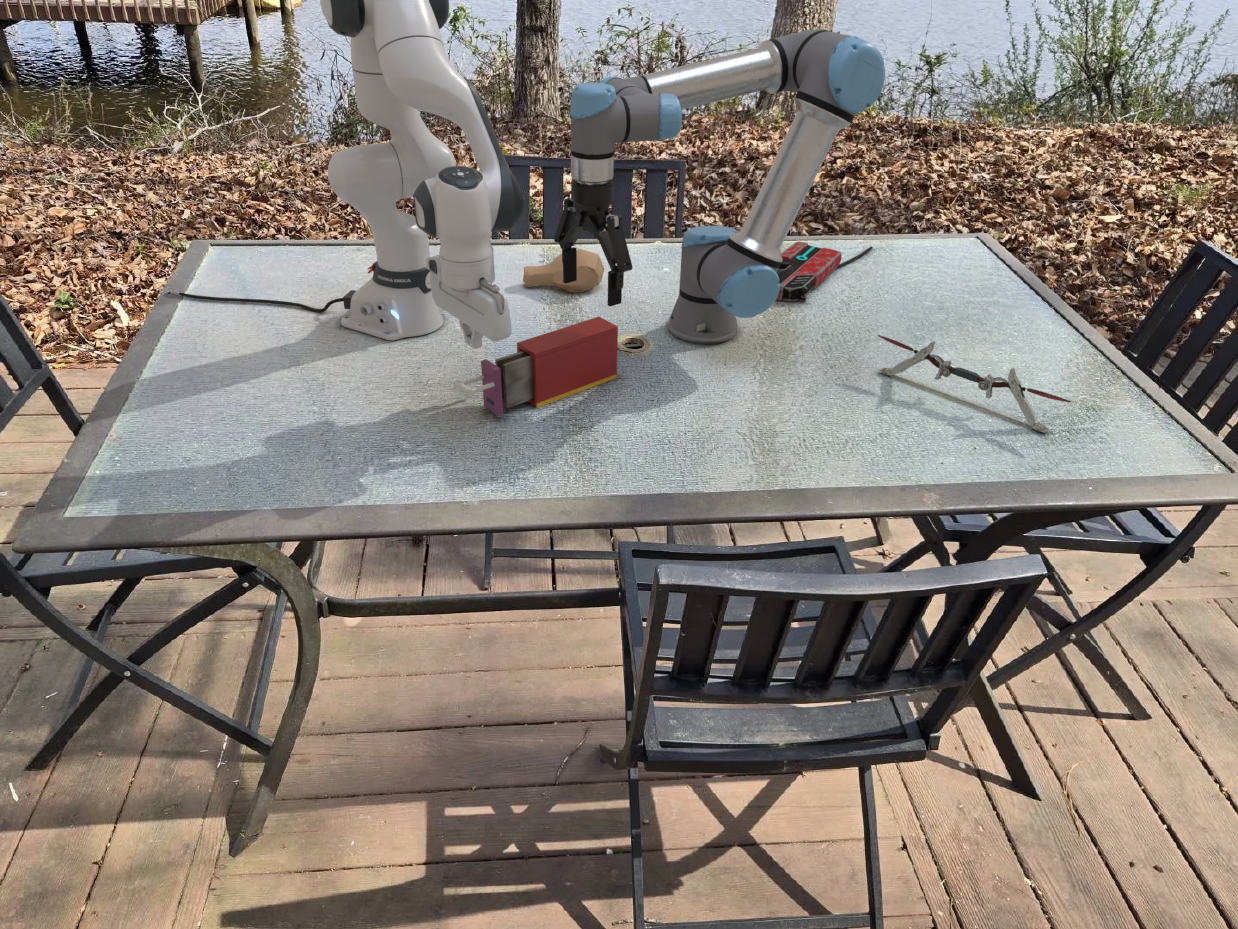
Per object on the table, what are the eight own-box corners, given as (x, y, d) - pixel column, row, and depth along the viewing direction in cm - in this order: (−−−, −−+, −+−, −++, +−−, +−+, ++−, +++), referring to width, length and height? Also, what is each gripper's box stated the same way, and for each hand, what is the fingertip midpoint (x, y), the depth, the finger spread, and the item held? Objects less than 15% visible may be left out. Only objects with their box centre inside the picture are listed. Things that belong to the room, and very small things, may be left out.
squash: (606, 296, 211) (601, 263, 205) (524, 303, 213) (517, 271, 207) (606, 272, 219) (602, 240, 213) (527, 279, 221) (521, 248, 214)
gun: (728, 271, 214) (803, 290, 206) (777, 233, 236) (846, 249, 228) (726, 288, 217) (800, 308, 209) (775, 249, 239) (843, 266, 231)
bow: (1060, 435, 162) (1077, 387, 156) (1056, 439, 161) (1073, 391, 155) (873, 366, 183) (882, 322, 178) (869, 369, 182) (878, 325, 177)
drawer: (469, 426, 158) (465, 380, 153) (455, 415, 161) (451, 370, 156) (577, 386, 171) (577, 342, 166) (563, 377, 174) (562, 333, 169)
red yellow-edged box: (536, 407, 166) (535, 354, 160) (518, 395, 170) (516, 342, 163) (616, 377, 177) (618, 326, 170) (598, 366, 180) (598, 316, 174)
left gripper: (518, 284, 141) (522, 362, 149) (452, 248, 154) (459, 321, 162) (485, 294, 138) (490, 372, 145) (421, 256, 151) (428, 330, 158)
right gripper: (655, 192, 148) (650, 309, 160) (566, 160, 164) (567, 268, 176) (621, 200, 144) (618, 319, 156) (534, 166, 160) (537, 276, 172)
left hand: (473, 345), depth 154 cm, fingers closed
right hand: (591, 292), depth 166 cm, fingers open, 13 cm apart
